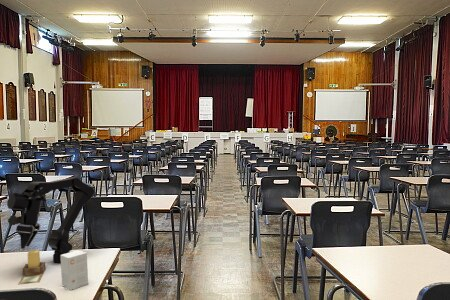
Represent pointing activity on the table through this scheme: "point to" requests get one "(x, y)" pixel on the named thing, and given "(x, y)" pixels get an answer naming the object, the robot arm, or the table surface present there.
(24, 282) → the board
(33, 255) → the block
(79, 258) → the small box
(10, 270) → the table surface
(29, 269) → the pocket
